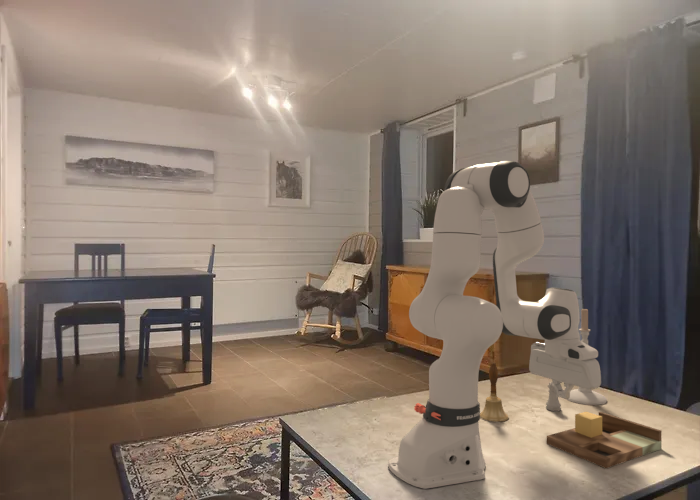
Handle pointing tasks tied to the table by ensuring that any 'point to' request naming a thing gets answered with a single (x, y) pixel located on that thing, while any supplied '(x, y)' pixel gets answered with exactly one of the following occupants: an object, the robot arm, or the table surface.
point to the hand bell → (493, 400)
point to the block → (588, 424)
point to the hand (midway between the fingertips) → (563, 397)
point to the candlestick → (581, 393)
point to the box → (609, 441)
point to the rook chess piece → (553, 399)
